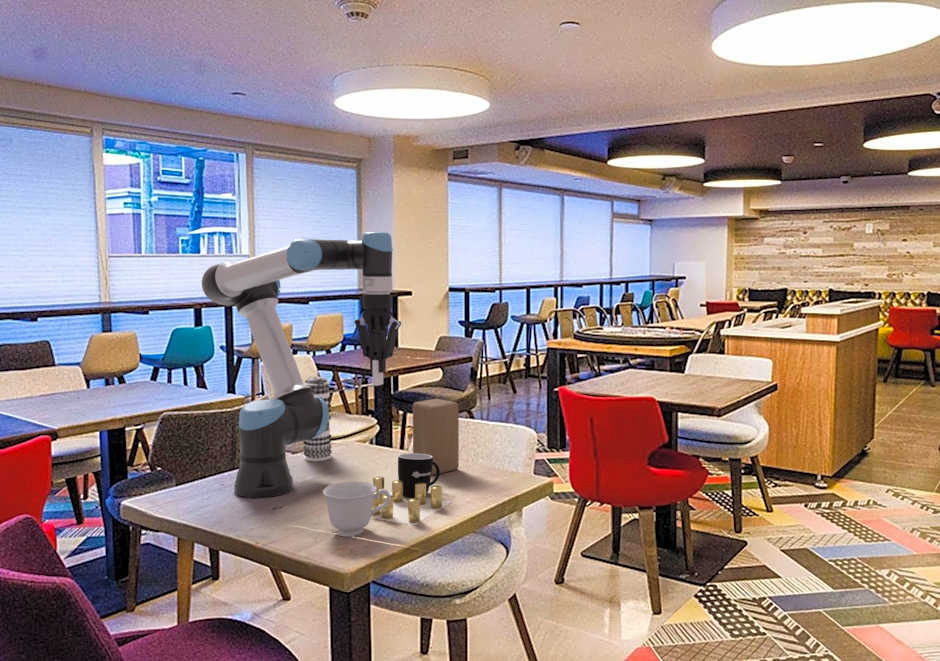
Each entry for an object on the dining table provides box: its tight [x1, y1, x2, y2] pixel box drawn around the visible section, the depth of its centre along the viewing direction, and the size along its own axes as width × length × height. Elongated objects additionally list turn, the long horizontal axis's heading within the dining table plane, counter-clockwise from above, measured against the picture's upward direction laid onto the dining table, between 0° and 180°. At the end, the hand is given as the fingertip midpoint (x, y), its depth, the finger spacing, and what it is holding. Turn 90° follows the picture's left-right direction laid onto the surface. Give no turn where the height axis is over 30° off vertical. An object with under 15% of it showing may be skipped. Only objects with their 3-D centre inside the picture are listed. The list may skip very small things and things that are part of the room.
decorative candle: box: [302, 376, 333, 462], centre depth 235 cm, size 9×9×25 cm
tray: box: [371, 491, 453, 526], centre depth 188 cm, size 23×19×1 cm
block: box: [412, 398, 460, 476], centre depth 221 cm, size 10×10×20 cm
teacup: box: [322, 481, 390, 538], centre depth 171 cm, size 12×15×10 cm
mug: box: [397, 452, 441, 498], centre depth 198 cm, size 12×9×10 cm
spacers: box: [372, 476, 443, 524], centre depth 186 cm, size 20×15×5 cm
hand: (378, 384), depth 196 cm, fingers closed
